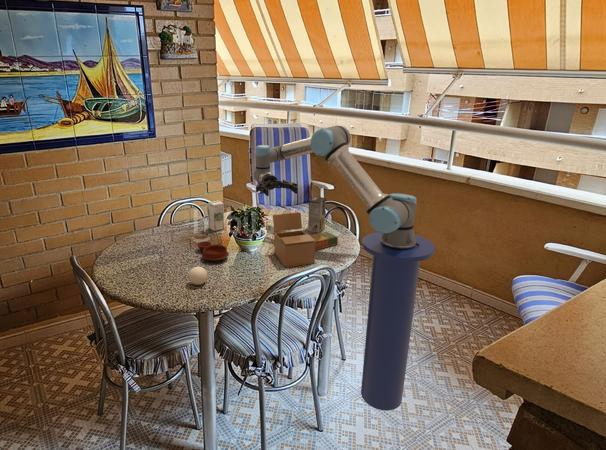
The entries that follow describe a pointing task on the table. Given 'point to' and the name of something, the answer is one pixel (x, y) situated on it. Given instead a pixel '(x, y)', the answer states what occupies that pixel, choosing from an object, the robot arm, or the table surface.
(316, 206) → the coffee box
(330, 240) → the carton
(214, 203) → the syrup box
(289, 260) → the box
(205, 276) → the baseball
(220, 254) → the pottery
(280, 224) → the flap
